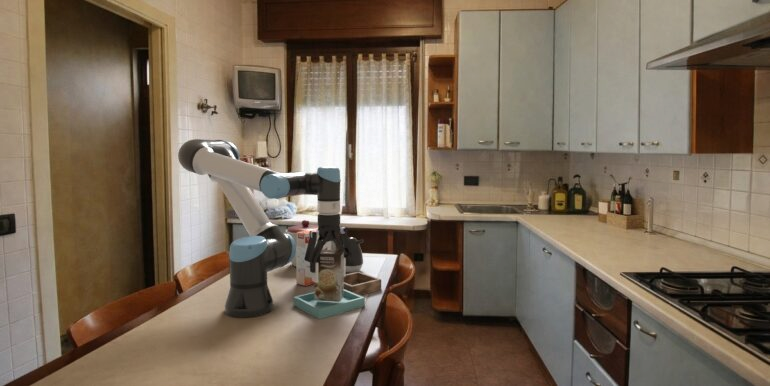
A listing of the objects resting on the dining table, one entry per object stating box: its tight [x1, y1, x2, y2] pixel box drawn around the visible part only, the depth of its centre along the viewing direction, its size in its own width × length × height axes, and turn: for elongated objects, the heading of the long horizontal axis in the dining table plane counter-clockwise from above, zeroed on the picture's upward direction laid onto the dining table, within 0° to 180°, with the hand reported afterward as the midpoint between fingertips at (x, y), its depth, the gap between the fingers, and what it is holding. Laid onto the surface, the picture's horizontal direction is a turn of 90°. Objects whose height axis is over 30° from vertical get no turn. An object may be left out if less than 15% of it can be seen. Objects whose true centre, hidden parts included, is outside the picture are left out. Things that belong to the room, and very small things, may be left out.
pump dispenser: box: [346, 236, 364, 274], centre depth 188 cm, size 10×10×15 cm
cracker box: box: [295, 229, 332, 287], centre depth 172 cm, size 14×6×21 cm, turn 141°
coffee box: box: [313, 249, 344, 302], centre depth 144 cm, size 9×6×16 cm
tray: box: [293, 289, 366, 320], centre depth 145 cm, size 18×16×3 cm
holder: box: [344, 271, 382, 296], centre depth 164 cm, size 14×14×4 cm
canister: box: [285, 219, 318, 267], centre depth 198 cm, size 18×18×21 cm
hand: (329, 278), depth 145 cm, fingers closed on coffee box, 10 cm apart
